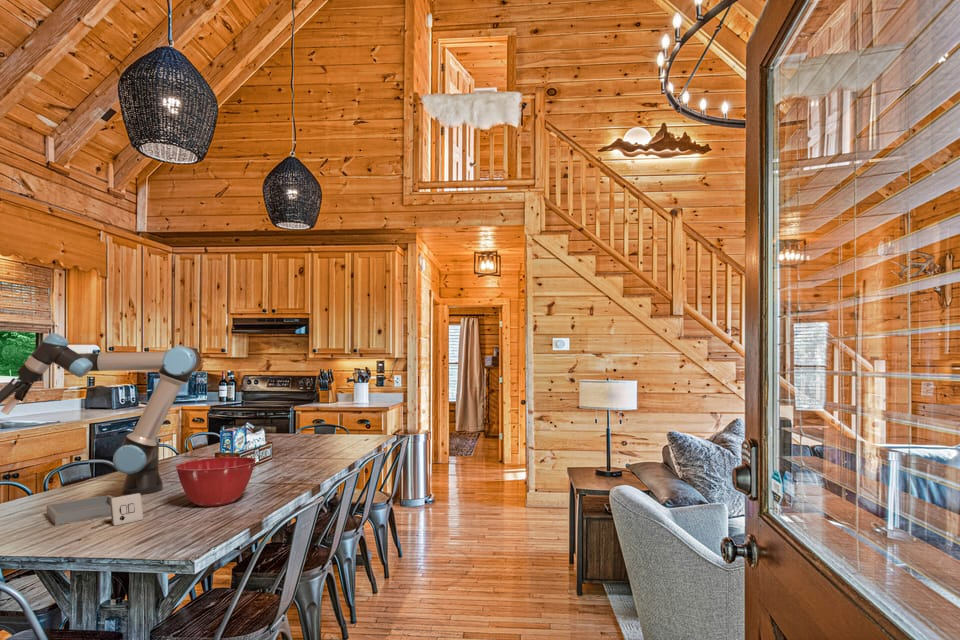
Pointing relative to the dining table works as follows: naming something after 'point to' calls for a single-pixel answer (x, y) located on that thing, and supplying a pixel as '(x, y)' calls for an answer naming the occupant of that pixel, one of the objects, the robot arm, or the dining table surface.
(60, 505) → the parts tray
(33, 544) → the dining table surface
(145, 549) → the dining table surface
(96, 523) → the dining table surface
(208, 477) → the mixing bowl
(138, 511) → the electrical switch
